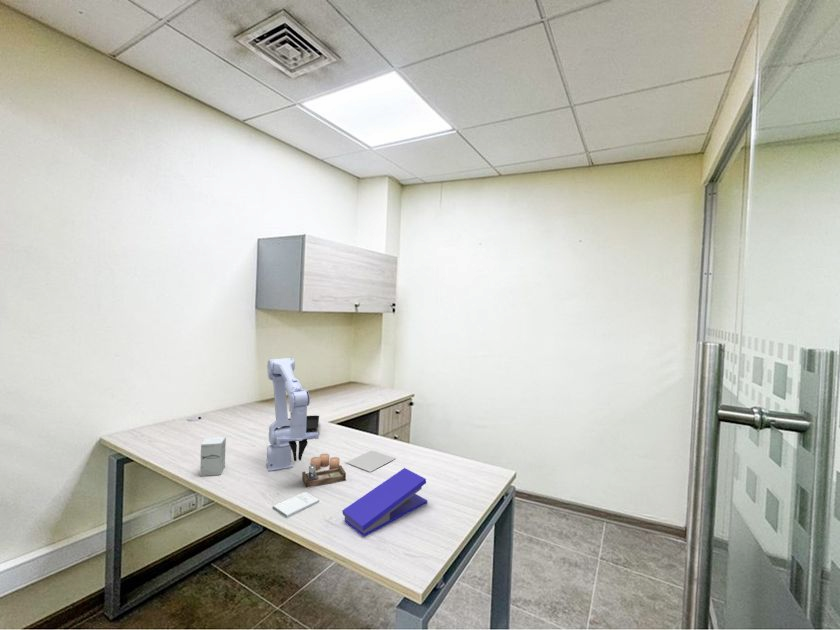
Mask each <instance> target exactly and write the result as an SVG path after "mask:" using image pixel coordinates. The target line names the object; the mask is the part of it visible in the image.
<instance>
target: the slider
mask: <svg viewBox="0 0 840 630" xmlns="http://www.w3.org/2000/svg"><path fill="white" fill-rule="evenodd" d="M315 472H317V471H316V466H315V465H311V466H308V472H307V473H306V472H305V473H306V475H307V477H308V481H312V480H317V479H318V477H317V475H316V473H315Z"/></svg>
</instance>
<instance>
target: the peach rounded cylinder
mask: <svg viewBox="0 0 840 630" xmlns="http://www.w3.org/2000/svg"><path fill="white" fill-rule="evenodd" d="M318 457H320V458H321V467H320V468H326V467H329V461H330V454H329V453H321V454H319V456H318Z"/></svg>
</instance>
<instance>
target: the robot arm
mask: <svg viewBox="0 0 840 630" xmlns="http://www.w3.org/2000/svg"><path fill="white" fill-rule="evenodd" d="M295 363H296V362H295V360H294V358H293V357H285V358H284V357H283V358H269V360H267V366H266V367H267V377H268V380H270V381H272V385H273V396H274V397H273V398H274V413H275V414H274V416H275V420H274V421H273V422H272V423H271V424H270V426H269V427H268V442H269V444H270V445H267V451H266V465H267V466H266V467H267V470H268V472H271V471H272V472H273V471H278V470H279V471H280V470H283V469H290V468H291V469H292V468H294V464H293V461H294V462H297V458H298V461H302V457H303V454H304V452H305V449H306V447H308V442H309V441H308V440H313V439H315V440H318V439H319V432H316V431H313V432H307V433H306V421H307V416H308V414H307V413H308V406H309V405H310V400H311V397H310V393H309V391H308V390H307V389H304V388H303V386H302V384H301V381H300V379H299V378H296V376H295V373H294V371H295V369H296V368H295V367H296V364H295ZM287 396H288V398H287ZM287 400H288V402H287ZM288 407H289V408H288ZM288 409H289V413H290V416H289V417H288ZM289 419H290V420H289ZM283 426H288V427H284V428H283ZM275 428H278V429H275ZM297 442H298V444H297ZM297 448H298V451H297ZM297 452H298V453H297ZM297 454H298V455H297ZM297 456H298V457H297ZM292 457H293V461H292Z"/></svg>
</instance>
